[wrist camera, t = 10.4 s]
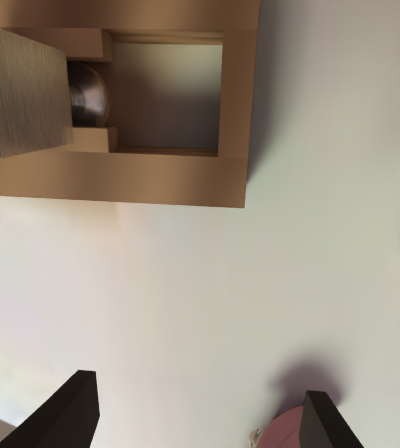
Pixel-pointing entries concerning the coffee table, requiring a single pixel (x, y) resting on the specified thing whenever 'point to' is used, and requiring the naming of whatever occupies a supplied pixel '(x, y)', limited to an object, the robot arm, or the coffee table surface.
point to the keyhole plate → (108, 136)
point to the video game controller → (280, 431)
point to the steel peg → (45, 96)
